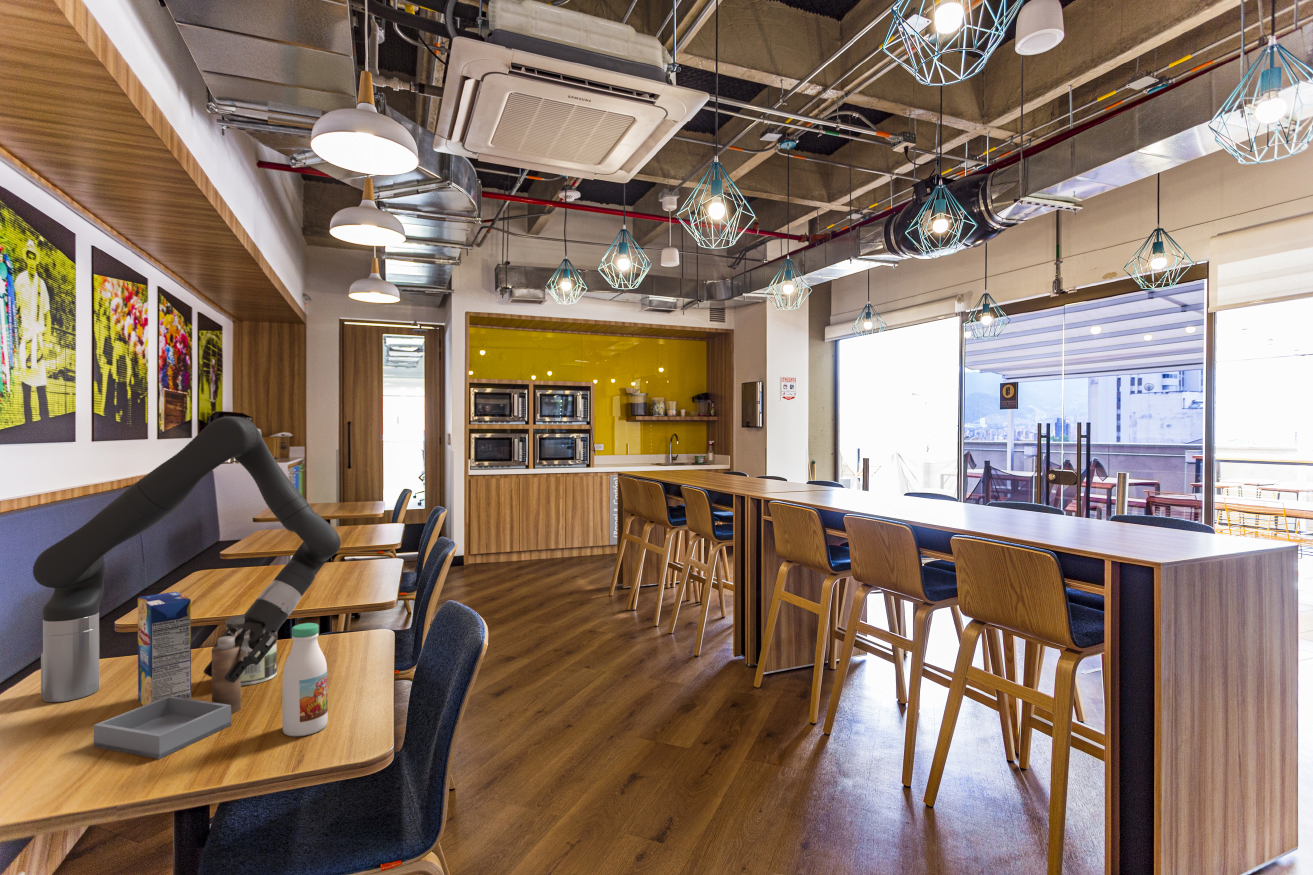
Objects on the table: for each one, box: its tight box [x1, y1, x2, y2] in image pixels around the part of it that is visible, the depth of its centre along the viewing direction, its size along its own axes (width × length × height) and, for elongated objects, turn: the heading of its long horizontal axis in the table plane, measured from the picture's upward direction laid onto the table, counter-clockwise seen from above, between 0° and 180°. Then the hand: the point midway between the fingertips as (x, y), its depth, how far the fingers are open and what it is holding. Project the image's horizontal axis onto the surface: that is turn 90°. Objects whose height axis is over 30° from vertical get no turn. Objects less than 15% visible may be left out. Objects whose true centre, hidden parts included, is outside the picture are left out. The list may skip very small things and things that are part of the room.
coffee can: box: [225, 613, 278, 687], centre depth 155 cm, size 10×10×14 cm
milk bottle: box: [281, 622, 329, 737], centre depth 128 cm, size 8×8×20 cm
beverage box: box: [137, 591, 192, 706], centre depth 141 cm, size 7×11×22 cm, turn 49°
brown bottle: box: [211, 636, 242, 715], centre depth 136 cm, size 5×5×15 cm
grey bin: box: [93, 696, 232, 760], centre depth 125 cm, size 16×14×4 cm
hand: (218, 677), depth 135 cm, fingers open, 6 cm apart
